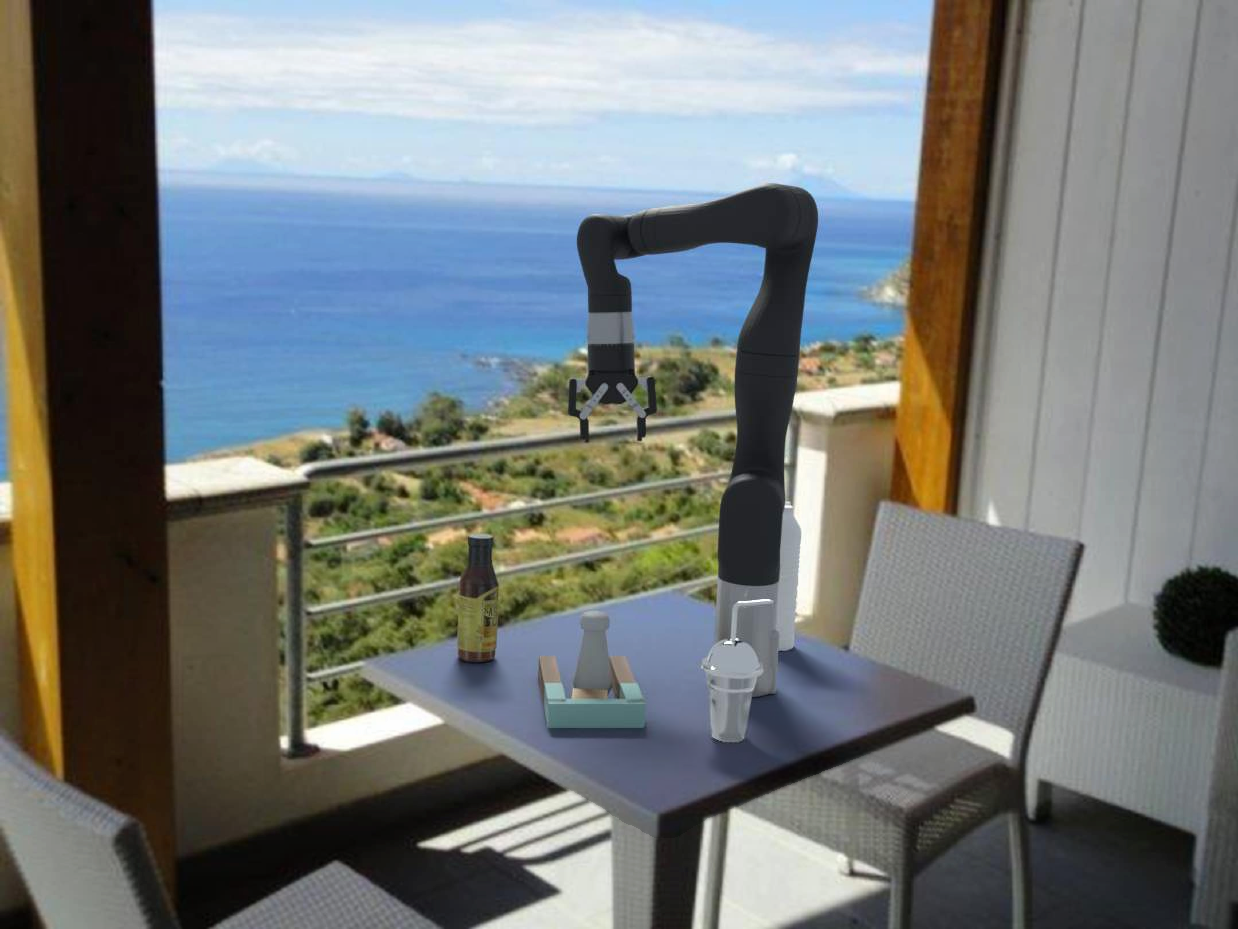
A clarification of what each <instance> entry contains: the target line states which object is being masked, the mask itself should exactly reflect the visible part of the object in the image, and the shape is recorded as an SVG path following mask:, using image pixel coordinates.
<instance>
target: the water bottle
mask: <svg viewBox="0 0 1238 929" xmlns="http://www.w3.org/2000/svg"><path fill="white" fill-rule="evenodd" d="M791 503H792V502H791V501H787V500H785V508H784V511H783V518H782V532H781V547H780V577H779V591H778V606H777V621H776V630H777V631H778V632H779V649H778V652H780V651H781V652H787V651H790V650H792V649H793V648H794V645H795V631H796V618H797V617H796V616H797V613H796V610H797V604H798V603H797V599H798V587H799V568H800V565H799V564H800V557H801V556H800V555H801V543H802V529H801V526H800V524H799V523H798V520H797V519H796V517H795V516H794V506H793V505H792V504H791Z"/></svg>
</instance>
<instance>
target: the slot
mask: <svg viewBox="0 0 1238 929" xmlns="http://www.w3.org/2000/svg"><path fill="white" fill-rule="evenodd" d="M609 662H610V669H611V676H612V683H613V684H612V689H613V692H614V694H615V695H614V696H615V699H620V683H637V682H636V681H635V678H634V675H633V673H632V668H631V667H630V665H629V663H628V659H627V657H626V656H625V655H609ZM537 666H538V669H537V670H538V673H537V676H538V680H539V681H538V682H539V686H540V692H541V698H542V704H543V705H544V691H545V683H562V680H561V676H560V671H559V667H558V663H557V658H556V655H538V665H537Z"/></svg>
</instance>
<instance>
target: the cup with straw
mask: <svg viewBox="0 0 1238 929" xmlns="http://www.w3.org/2000/svg"><path fill="white" fill-rule="evenodd" d="M760 605H775V602H774V599H772V600H758V601H743V602H737V603H736V604H735V605H734V606H733V609H732V624H731V638H728V639H724V640H721V641H720V642H718V643H716V644H715V645H714V644H713V646H712V647H711V648H710V651H709V652H708V654H707V656H706V657H704V658H703V659H702V660H701V665H700V668H701V670H702V671H703V672H705V674H706V677H705V678H706V682H707V687H708V697H709V698H708V700H709V714H710V717H709V718H710V729H711V735H712V736H711V738H712V737H713V738H715V739H717V740H719V741H718V742H720V741H722V742H721V743H726V742H727V744H728V743H729V742H732V743H733V742H734V743H733V744H735V742H736V743H740V741H741V742H742V740H743V739H744V740H745V732H746V731H747V727H748V721H749V716H750V715H749V714H750V710H751V703H752V698H753V697H752V694H753V690H754V688H755V684H756V681H757V676H759V675H761V674H762V673H763V671H764V670H763V665H762V663H761V662H760V661H759V660H758V658H757V656H756V653H755V651H754V649H753V648H752V647H751V646H750V645H749V644H748V643H746V642H745V641H743V640H740V639H736V626H737V611H738V608H739V607H745V606H760ZM713 738H712V739H713ZM715 739H714V740H715ZM717 740H716V741H717ZM744 740H743V741H744ZM732 743H731V744H732ZM729 744H730V743H729Z"/></svg>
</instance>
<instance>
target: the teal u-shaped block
mask: <svg viewBox="0 0 1238 929" xmlns="http://www.w3.org/2000/svg"><path fill="white" fill-rule="evenodd" d="M543 708H544V713H545V719H546V725H547V729H645V726H646V724H645V723H646V721H645V720H646V702H645V699H644V696H643V694H642V692H641V689H640V686H639V684H638V682H636V683H620V699H617V698H607V699H572V698H566V694H565V689H564V686H563V683H562V682H561V683H545V691H544V704H543Z"/></svg>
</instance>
